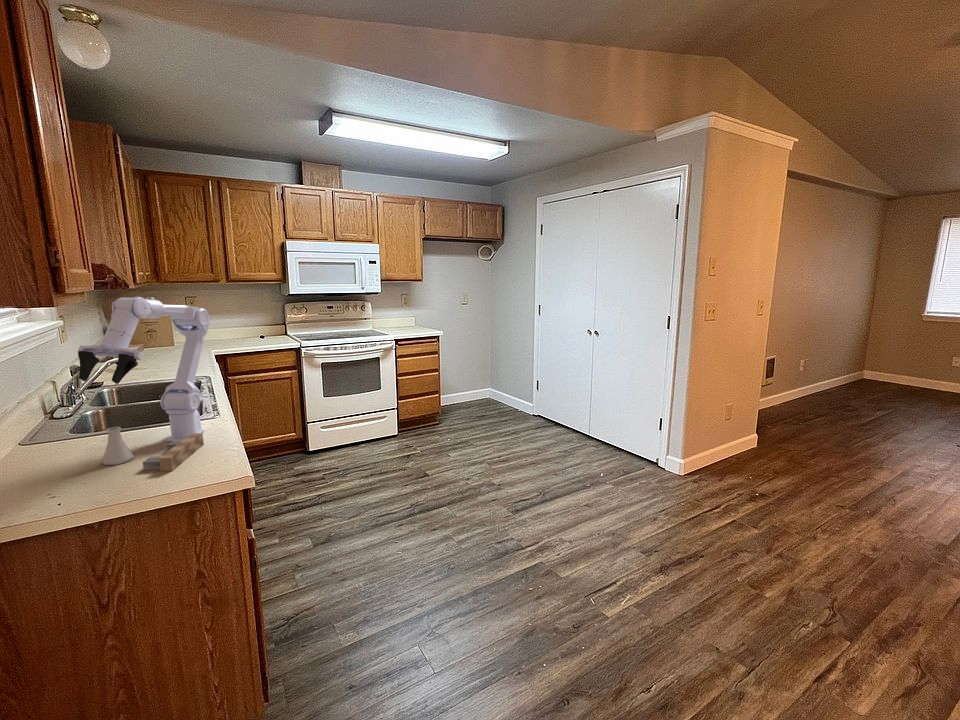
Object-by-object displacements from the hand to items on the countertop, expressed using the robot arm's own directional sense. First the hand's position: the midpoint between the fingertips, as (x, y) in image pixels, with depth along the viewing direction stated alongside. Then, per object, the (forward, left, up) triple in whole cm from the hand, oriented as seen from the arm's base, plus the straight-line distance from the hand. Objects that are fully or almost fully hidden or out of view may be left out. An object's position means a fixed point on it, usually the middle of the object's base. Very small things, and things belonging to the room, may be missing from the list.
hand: (98, 380), depth 116 cm
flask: (-10, -5, -27) cm, 29 cm away
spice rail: (-10, +10, -26) cm, 30 cm away
